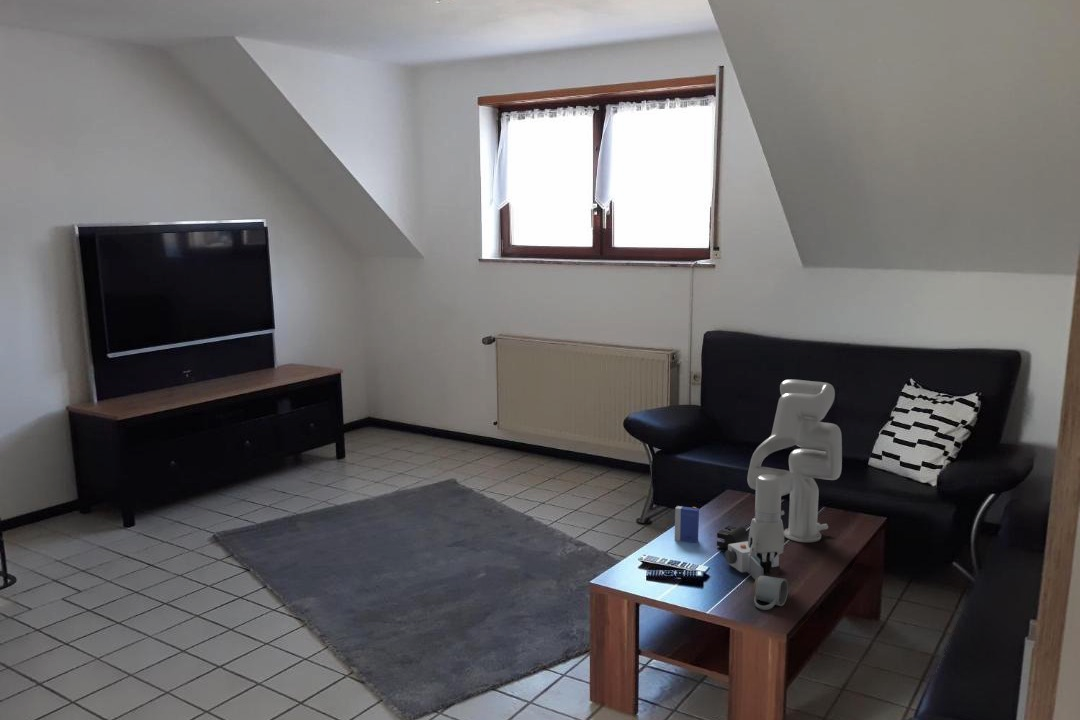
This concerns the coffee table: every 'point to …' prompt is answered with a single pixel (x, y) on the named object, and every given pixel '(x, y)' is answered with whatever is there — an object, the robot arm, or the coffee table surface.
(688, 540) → the walkman
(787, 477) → the robot arm
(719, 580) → the coffee table surface
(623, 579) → the coffee table surface
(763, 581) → the ceramic mug
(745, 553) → the camera body
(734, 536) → the power tool battery
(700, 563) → the coffee table surface
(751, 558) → the side door
